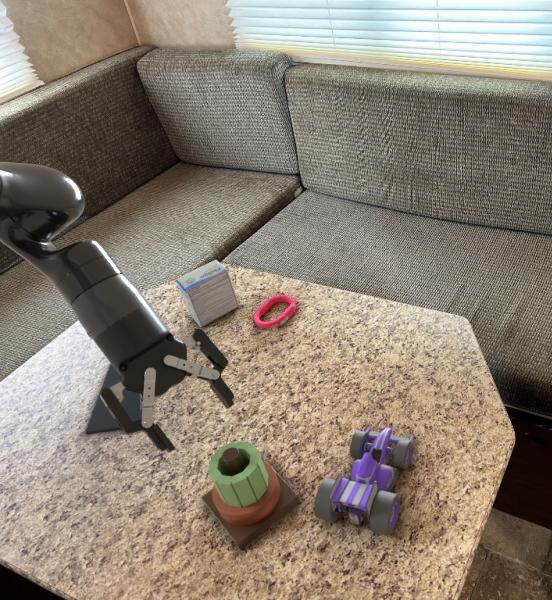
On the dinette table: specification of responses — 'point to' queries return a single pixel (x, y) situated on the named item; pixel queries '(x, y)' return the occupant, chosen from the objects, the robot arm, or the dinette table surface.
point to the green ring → (239, 476)
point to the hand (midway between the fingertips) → (202, 427)
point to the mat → (102, 416)
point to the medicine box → (208, 292)
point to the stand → (257, 515)
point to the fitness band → (281, 318)
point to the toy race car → (367, 482)
